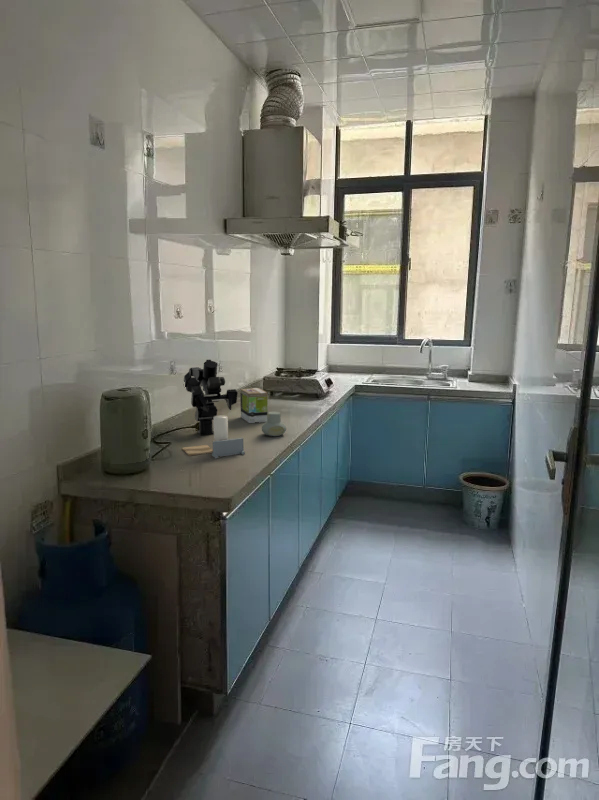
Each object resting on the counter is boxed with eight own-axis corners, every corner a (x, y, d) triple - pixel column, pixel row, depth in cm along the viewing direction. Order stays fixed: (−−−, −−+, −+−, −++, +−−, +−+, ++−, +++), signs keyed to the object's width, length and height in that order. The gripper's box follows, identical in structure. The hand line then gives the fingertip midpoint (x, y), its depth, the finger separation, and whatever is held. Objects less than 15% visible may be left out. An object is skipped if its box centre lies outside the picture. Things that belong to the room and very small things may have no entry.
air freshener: (263, 438, 231) (263, 415, 229) (260, 433, 239) (259, 411, 237) (288, 436, 234) (288, 414, 232) (283, 431, 242) (283, 410, 240)
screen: (211, 455, 206) (211, 440, 205) (241, 451, 212) (241, 436, 210) (215, 458, 203) (214, 443, 202) (244, 454, 208) (244, 439, 207)
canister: (212, 450, 213) (211, 416, 210) (225, 448, 215) (224, 414, 213) (217, 454, 208) (216, 419, 205) (230, 452, 210) (229, 417, 208)
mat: (182, 449, 215) (182, 447, 215) (206, 446, 219) (206, 444, 219) (189, 455, 206) (189, 454, 206) (214, 452, 210) (214, 451, 210)
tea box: (268, 422, 260) (268, 392, 257) (248, 423, 257) (248, 393, 254) (259, 415, 274) (258, 387, 271) (240, 417, 270) (239, 388, 267)
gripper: (189, 373, 218) (197, 395, 206) (233, 370, 225) (244, 391, 214) (187, 395, 224) (196, 418, 213) (231, 392, 231) (241, 414, 220)
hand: (219, 410), depth 215 cm, fingers open, 9 cm apart
